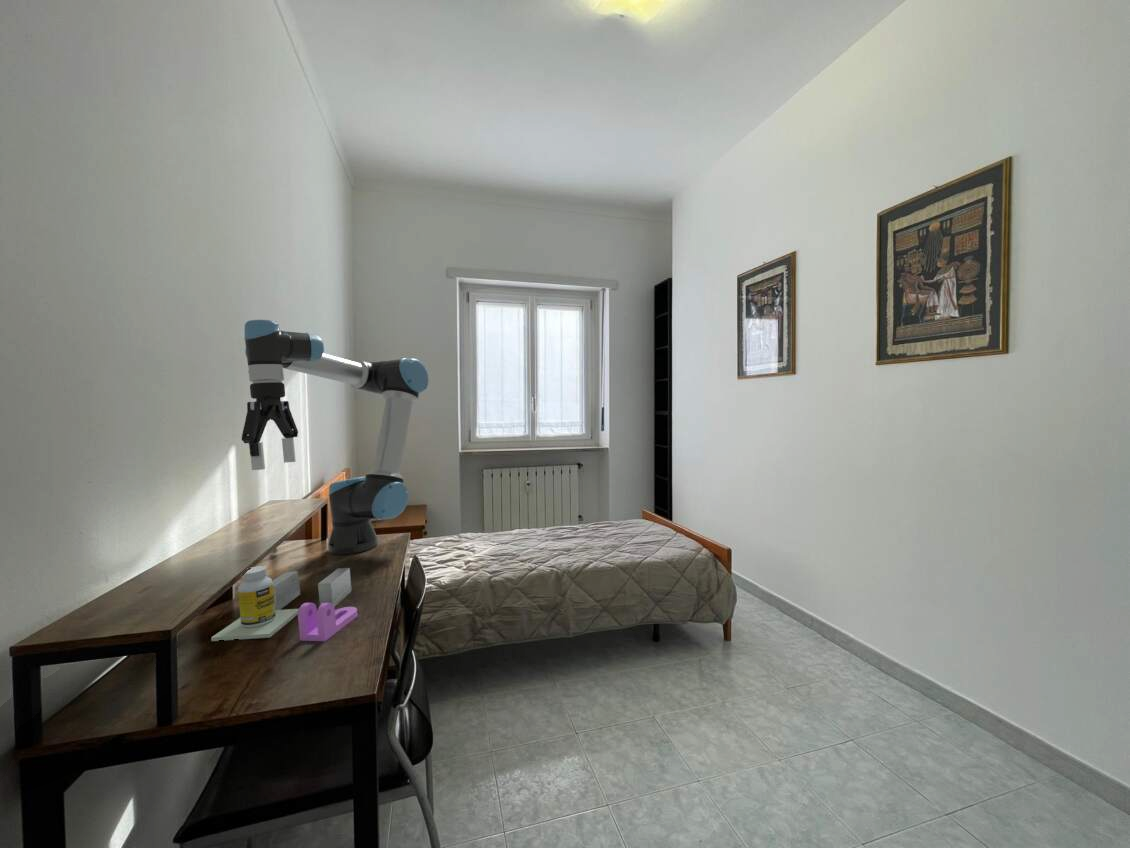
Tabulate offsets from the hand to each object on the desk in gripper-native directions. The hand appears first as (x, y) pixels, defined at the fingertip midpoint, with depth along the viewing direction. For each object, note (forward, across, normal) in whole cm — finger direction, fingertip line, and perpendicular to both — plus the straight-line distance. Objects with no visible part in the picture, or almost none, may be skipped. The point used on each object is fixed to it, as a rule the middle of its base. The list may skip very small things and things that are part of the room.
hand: (275, 465), depth 125 cm
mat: (+33, +20, +5) cm, 39 cm away
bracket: (+33, +22, +22) cm, 46 cm away
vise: (+33, +8, +7) cm, 34 cm away
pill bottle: (+32, +20, +5) cm, 38 cm away
